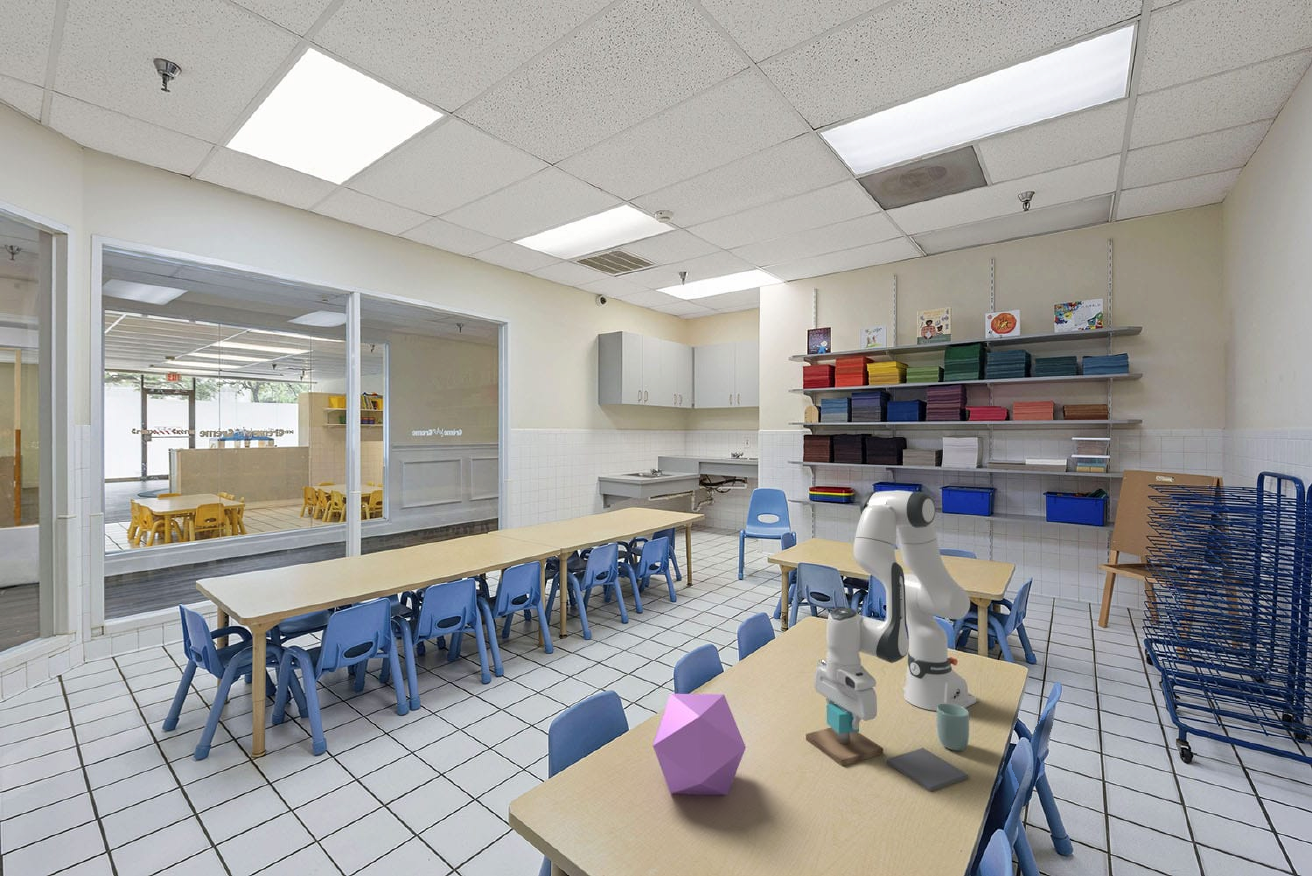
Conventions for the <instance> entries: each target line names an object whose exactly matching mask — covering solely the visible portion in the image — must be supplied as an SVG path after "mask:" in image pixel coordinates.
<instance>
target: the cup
mask: <svg viewBox="0 0 1312 876" xmlns="http://www.w3.org/2000/svg"><path fill="white" fill-rule="evenodd" d="M936 729H937V730H936V731H937V735H938V736H937V737H938V739H939V741H940V743H941V745H942V746H943V747H945V748H946V749H949V750H952V751H957V752H958V751H959V752H960V751H964V750H966V749H967V746H968V744H969V740H970V739H969V738H970V713H969V711H968V709H967V708H964V707H962V706H959V705H956V704H950V703H941V704H938V705H937V711H936Z"/></svg>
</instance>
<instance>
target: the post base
mask: <svg viewBox="0 0 1312 876" xmlns="http://www.w3.org/2000/svg"><path fill="white" fill-rule="evenodd" d="M805 740H806V741H807V742H808V743H810V744H811V745H813V746H814V747H815V748H817V749H818V750H819V751H821V753H822V752H823V754H825V755H826V756H828V757H829V758H831V759H832V760H833V761H835V762H836V763H837V764H838V765H840V766H841V767H844V766H847V765H850V764H853V763H857V762H860V761H864V760H867V759H870V758H874V757H877V756H880V755H884V747H883V746H881V745H879V744H878V743H877V742H874V741H873V740H871V739H870V738H868V737H867V736H865V735H863V734H862V733H860V731H859V732H852V733H843V734H838V733H837V732H836V731H835V730H834V729H833V728H831V727H829V728H824V729H821V730H816V731H813V732H809V733H806V734H805Z"/></svg>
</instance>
